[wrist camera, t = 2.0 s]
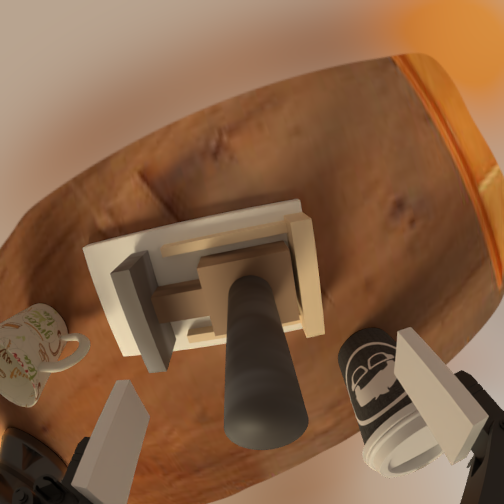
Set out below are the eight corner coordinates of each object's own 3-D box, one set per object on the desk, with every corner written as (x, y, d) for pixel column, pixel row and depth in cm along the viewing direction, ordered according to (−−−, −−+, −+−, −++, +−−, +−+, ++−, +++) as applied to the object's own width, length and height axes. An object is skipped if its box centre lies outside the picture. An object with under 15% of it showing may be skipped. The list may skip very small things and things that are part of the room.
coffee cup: (320, 388, 32) (356, 493, 17) (329, 319, 29) (390, 428, 15) (391, 376, 32) (445, 462, 18) (408, 310, 30) (489, 391, 15)
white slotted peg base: (126, 350, 29) (114, 374, 25) (87, 244, 26) (65, 258, 21) (313, 319, 29) (325, 343, 25) (297, 198, 26) (309, 205, 21)
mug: (13, 296, 27) (-36, 335, 17) (92, 285, 27) (41, 335, 17) (39, 355, 29) (1, 402, 19) (117, 354, 29) (85, 416, 20)
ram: (161, 341, 27) (114, 480, 12) (131, 253, 25) (25, 360, 9) (295, 317, 27) (348, 460, 12) (280, 222, 24) (350, 316, 9)
